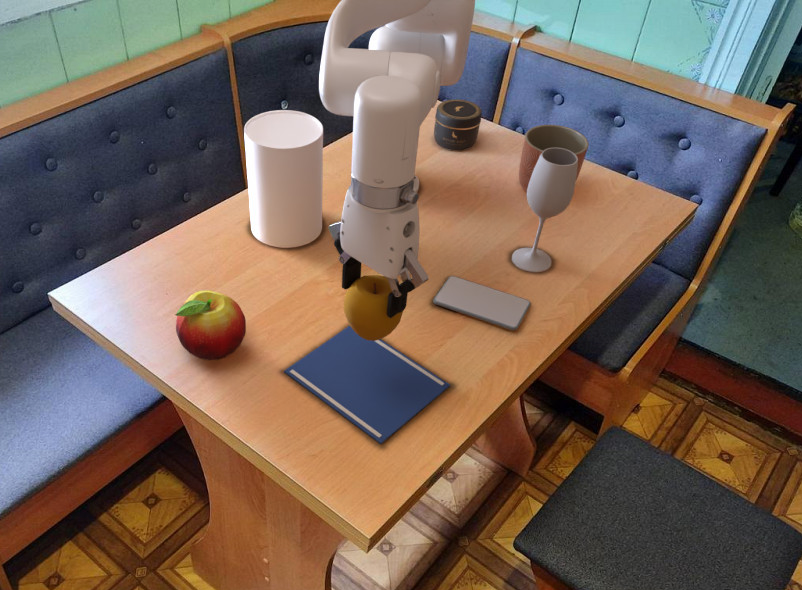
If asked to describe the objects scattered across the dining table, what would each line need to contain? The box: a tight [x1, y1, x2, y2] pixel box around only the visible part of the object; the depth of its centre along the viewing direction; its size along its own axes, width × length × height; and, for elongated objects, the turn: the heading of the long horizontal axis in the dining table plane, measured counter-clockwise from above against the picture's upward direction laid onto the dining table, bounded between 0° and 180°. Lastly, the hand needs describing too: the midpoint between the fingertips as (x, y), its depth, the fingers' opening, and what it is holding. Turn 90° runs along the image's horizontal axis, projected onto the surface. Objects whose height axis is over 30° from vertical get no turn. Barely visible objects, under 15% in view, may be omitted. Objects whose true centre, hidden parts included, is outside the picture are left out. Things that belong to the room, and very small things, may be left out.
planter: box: [518, 124, 590, 192], centre depth 147 cm, size 12×12×11 cm
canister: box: [243, 109, 324, 249], centre depth 132 cm, size 14×14×20 cm
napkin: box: [283, 325, 451, 445], centre depth 111 cm, size 20×16×1 cm
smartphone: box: [433, 275, 532, 331], centre depth 124 cm, size 8×1×15 cm
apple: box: [343, 274, 404, 341], centre depth 102 cm, size 8×8×9 cm
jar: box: [433, 98, 483, 152], centre depth 161 cm, size 10×10×8 cm
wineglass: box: [511, 148, 578, 273], centre depth 126 cm, size 8×8×21 cm
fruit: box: [174, 289, 247, 361], centre depth 112 cm, size 11×11×10 cm
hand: (373, 297), depth 100 cm, fingers closed on apple, 7 cm apart
